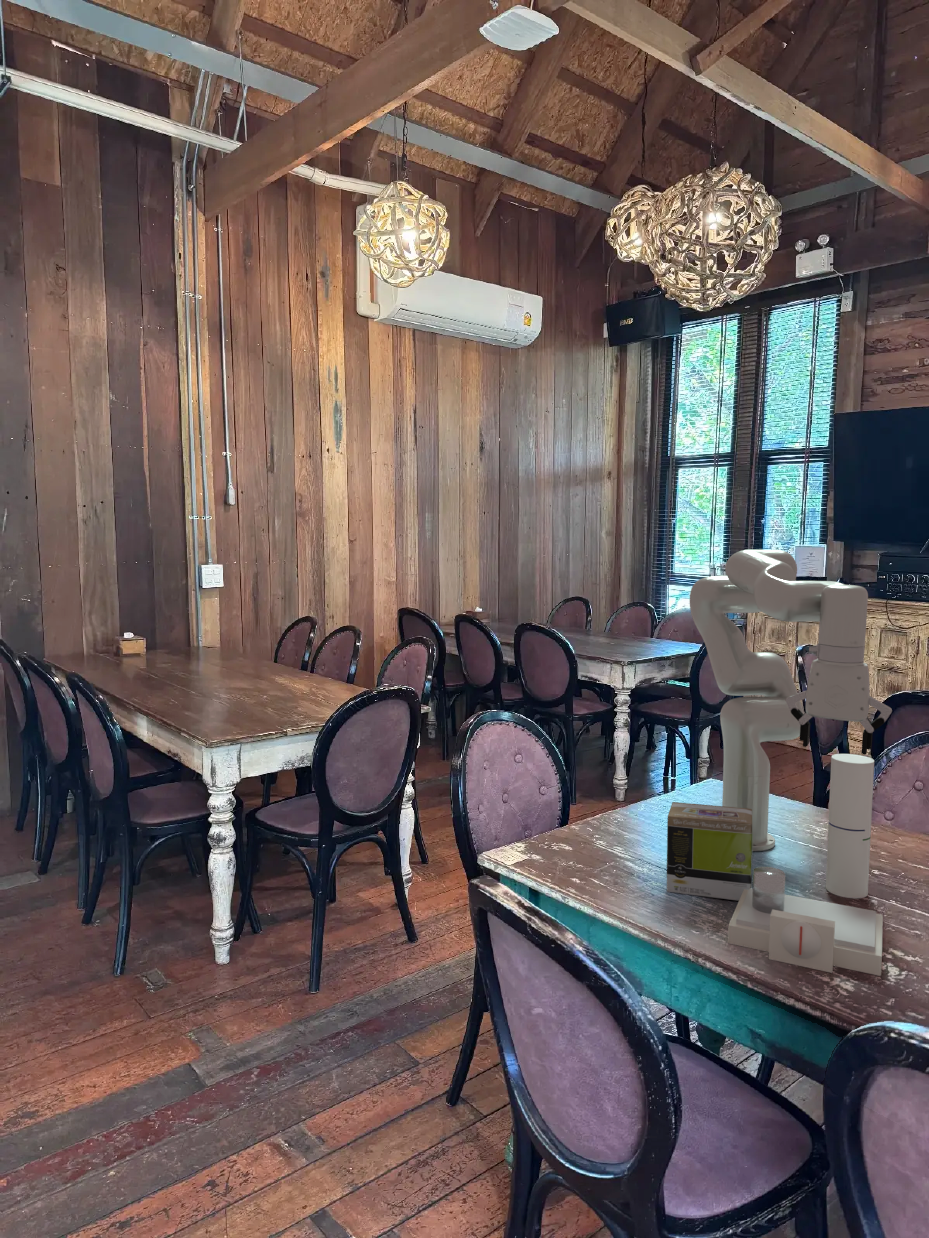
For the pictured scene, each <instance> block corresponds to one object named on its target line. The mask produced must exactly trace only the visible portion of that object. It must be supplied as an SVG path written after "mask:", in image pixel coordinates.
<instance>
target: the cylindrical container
mask: <svg viewBox="0 0 929 1238" xmlns="http://www.w3.org/2000/svg"><path fill="white" fill-rule="evenodd" d="M874 774H875V760H874V759H873V758H872V757H869V756H866V755H860V754H855V753H853V754H852V753H834V754H832V755H831V761H830V782H829V783H830V784H829V802H828V805H829V806H828V826H827V828H828V829H827V846H826V848H827V850H826V872H825V889H826V891H827V892H829V893H831V894H832V895H835V896H838V897H843V898H845V899H846V898H848V899H863V898H865V897H867V896H868V894H869V877H870V876H869V875H870V853H871V834H872V833H871V832H872V814H873V794H874Z"/></svg>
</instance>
